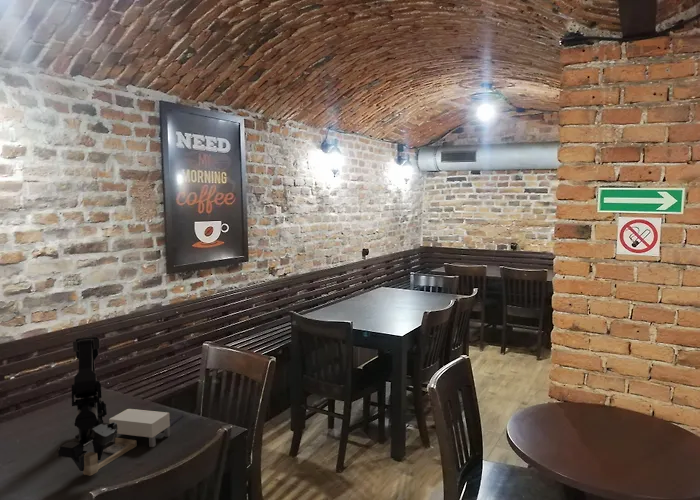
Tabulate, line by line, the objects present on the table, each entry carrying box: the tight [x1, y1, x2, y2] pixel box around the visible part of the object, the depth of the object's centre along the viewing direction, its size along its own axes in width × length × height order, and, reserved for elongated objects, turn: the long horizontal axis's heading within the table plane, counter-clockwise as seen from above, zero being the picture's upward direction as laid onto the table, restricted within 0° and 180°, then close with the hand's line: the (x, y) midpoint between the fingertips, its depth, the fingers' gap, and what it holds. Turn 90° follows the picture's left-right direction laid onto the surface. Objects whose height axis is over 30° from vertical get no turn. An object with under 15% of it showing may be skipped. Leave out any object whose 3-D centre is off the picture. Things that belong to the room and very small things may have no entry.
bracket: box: [162, 413, 184, 433], centre depth 199 cm, size 14×15×3 cm
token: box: [103, 442, 129, 455], centre depth 177 cm, size 6×6×1 cm
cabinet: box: [108, 408, 171, 448], centre depth 185 cm, size 18×10×8 cm, turn 74°
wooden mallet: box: [82, 437, 137, 476], centre depth 170 cm, size 10×21×6 cm, turn 161°
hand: (90, 465), depth 161 cm, fingers open, 7 cm apart
